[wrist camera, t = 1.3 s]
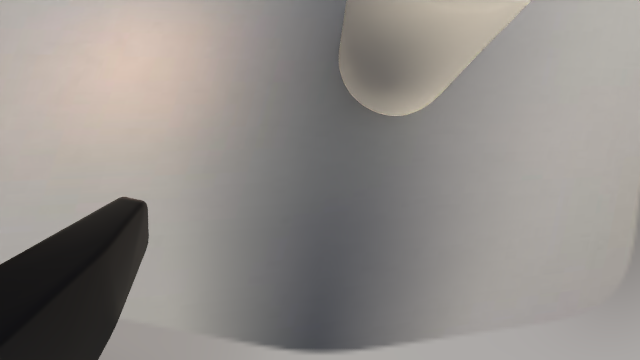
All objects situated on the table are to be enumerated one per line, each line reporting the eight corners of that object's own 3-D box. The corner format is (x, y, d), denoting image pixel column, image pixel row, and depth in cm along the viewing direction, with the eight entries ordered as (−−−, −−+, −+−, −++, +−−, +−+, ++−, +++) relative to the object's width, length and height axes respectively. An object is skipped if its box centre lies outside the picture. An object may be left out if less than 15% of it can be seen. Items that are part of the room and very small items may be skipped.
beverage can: (330, 17, 23) (349, -206, 12) (440, 2, 24) (572, -232, 12) (346, 126, 23) (383, 12, 11) (458, 111, 23) (614, -18, 11)
